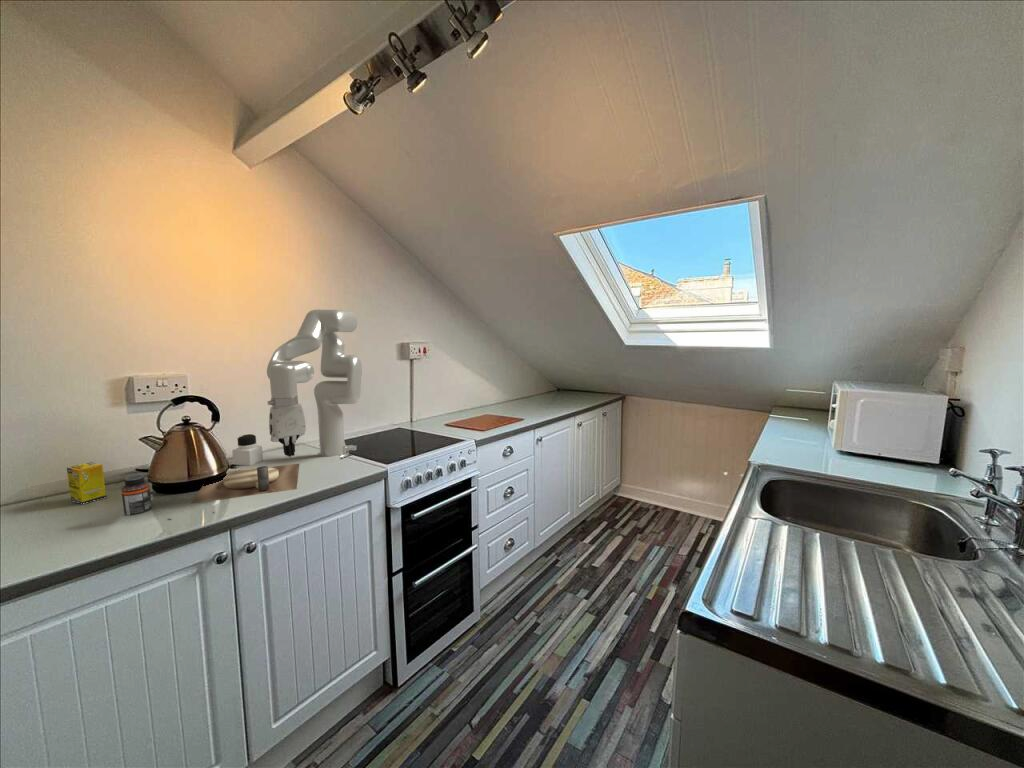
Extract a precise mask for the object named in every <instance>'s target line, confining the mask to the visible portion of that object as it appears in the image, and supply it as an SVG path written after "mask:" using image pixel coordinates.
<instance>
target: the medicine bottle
mask: <svg viewBox="0 0 1024 768" xmlns="http://www.w3.org/2000/svg"><path fill="white" fill-rule="evenodd" d="M256 437H257V436H256V435H255V434H249V433H248V434H241V435H239V436H238V437H237V438H236V439H237V440H236V441H237V448H235V449H232V450H231V451H232V452H231V453H232V464H233V465H235V466H236V465H238V466H239V465H240V466H252V465H254V464H256V463H258V462H263V461H264V457H263V456H264V454H263V446H262V445H257V438H256Z"/></svg>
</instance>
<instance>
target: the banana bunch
mask: <svg viewBox="0 0 1024 768" xmlns="http://www.w3.org/2000/svg"><path fill="white" fill-rule="evenodd" d="M268 467H269V466H267V465H263V466H259V467H251V468H247V469H240V470H241V471H238V470H236V471H237V472H234V473H231V474H229V475H227V476H225V477H224V478H223V485H224V486H225V487H227V488H232V489H243V488H251V487H257V488H258V489H259V490H260V491H263V490H267V489H269V483H270V482H273V481H275V480H276V479H277V478H278V477H279V471H278V470H277V469H275V468H268Z"/></svg>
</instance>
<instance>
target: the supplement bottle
mask: <svg viewBox="0 0 1024 768" xmlns="http://www.w3.org/2000/svg"><path fill="white" fill-rule="evenodd" d="M120 492H121V498H122V499H121V500H122V506H123V507H122V508H123V515H125V516H136V515H140V514H144V513H147V512H149V511H151V510H152V509H153V506H152V497H151V488H150V484H149V482H147V481H145V477H144V475H141V474H140V475H132V476H128V477H126V478H124V485H123V486H122V488H121V491H120Z"/></svg>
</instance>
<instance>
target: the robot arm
mask: <svg viewBox="0 0 1024 768" xmlns="http://www.w3.org/2000/svg"><path fill="white" fill-rule="evenodd" d="M358 325H359V324H358V317H357V316H356V314H355V313H354V312H353V311H351V310H341V309H320V308H319V309H313V310H310V311H308V312H307V313H306V315H305V317H304V319H303V322H302V323H301V325H300V328H299V329H298V331H297V334H296V336H294V337H292V338H291V339H289V340H287V341H286V342H285V343H283V344H281V345H280V346H279V347H277V348H276V349H275V351H273V353H272V354H271V357H270V360H269V362H268V364H267V368H266V375H267V377H268V379H269V382H270V383H269V384H270V386H269V387H270V395H271V396H270V400H267V405H268V406H270V409H269V414H268V415H269V416H268V418H269V419H268V429H269V431H268V432H269V435H270V436H271V437H270V442H272V443H280V444H282V446H283V448H282V449H283V454H284V455H285V456H287V457H288V458H290V457H292V456H293V457H295V453H296V445H295V444H296V443H297V440H299V438H300V437H302V436H304V435H305V434H306V431H307V425H306V424H307V423H306V417H305V413H304V410H303V407H302V404H301V403H299V397H298V385H297V384H304V383H308V382H309V381H311V380H312V378H313V377H314V374H315V369H314V366H313V365H312V363H310V362H308V361H305V360H293V359H295V358H298V357H300V356H304V355H307V354H311V353H313V352H315V351H318V349H320V347H321V357H320V373H321V375H322V376H323V377H324V378H329V379H347V380H322V381H320V382H318V383H316V385H315V386H314V388H313V393H314V394H313V395H314V398H315V403H316V408H317V417H318V437H319V438H318V441H319V452H317V454H316V456H322V457H336V456H339V458H340V459H341V458H342V459H345V458H346V456H347V457H349V455H350V452H349V451H357V445H353V444H350V445H347V444H346V442H345V426H344V424H345V423H344V412H343V410H342V409H341V407H340V406H339V405H355V404H357V403H358V402H359V400H360V396H361V389H362V387H361V384H362V372H363V371H362V370H363V367H362V362H361V359H360V358H359V357H358V356H357V355H354V354H345V343H344V341H343V339H342V338H341V337H340V335H339V334H338V333H353V332H354V331H356V329H357V328H358ZM344 457H345V458H344Z"/></svg>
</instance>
